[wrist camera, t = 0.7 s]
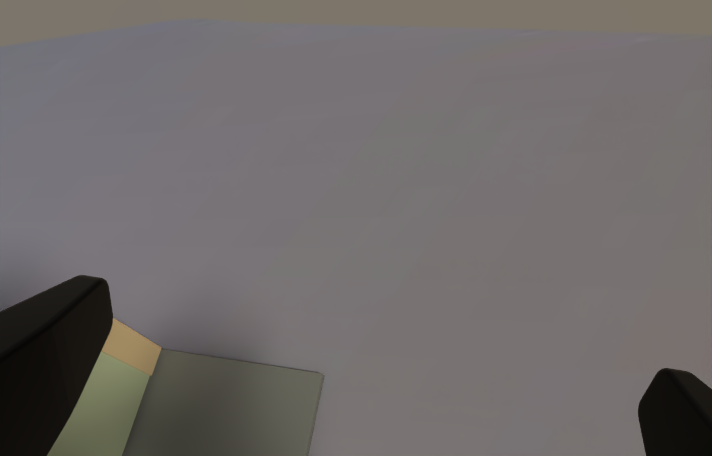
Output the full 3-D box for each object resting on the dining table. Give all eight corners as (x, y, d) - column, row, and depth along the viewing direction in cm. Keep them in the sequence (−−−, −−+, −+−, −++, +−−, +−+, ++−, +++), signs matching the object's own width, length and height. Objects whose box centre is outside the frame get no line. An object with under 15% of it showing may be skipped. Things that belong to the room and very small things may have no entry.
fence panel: (82, 575, 22) (-23, 591, 17) (53, 568, 23) (-59, 582, 18) (161, 347, 27) (96, 307, 22) (136, 343, 27) (66, 303, 22)
